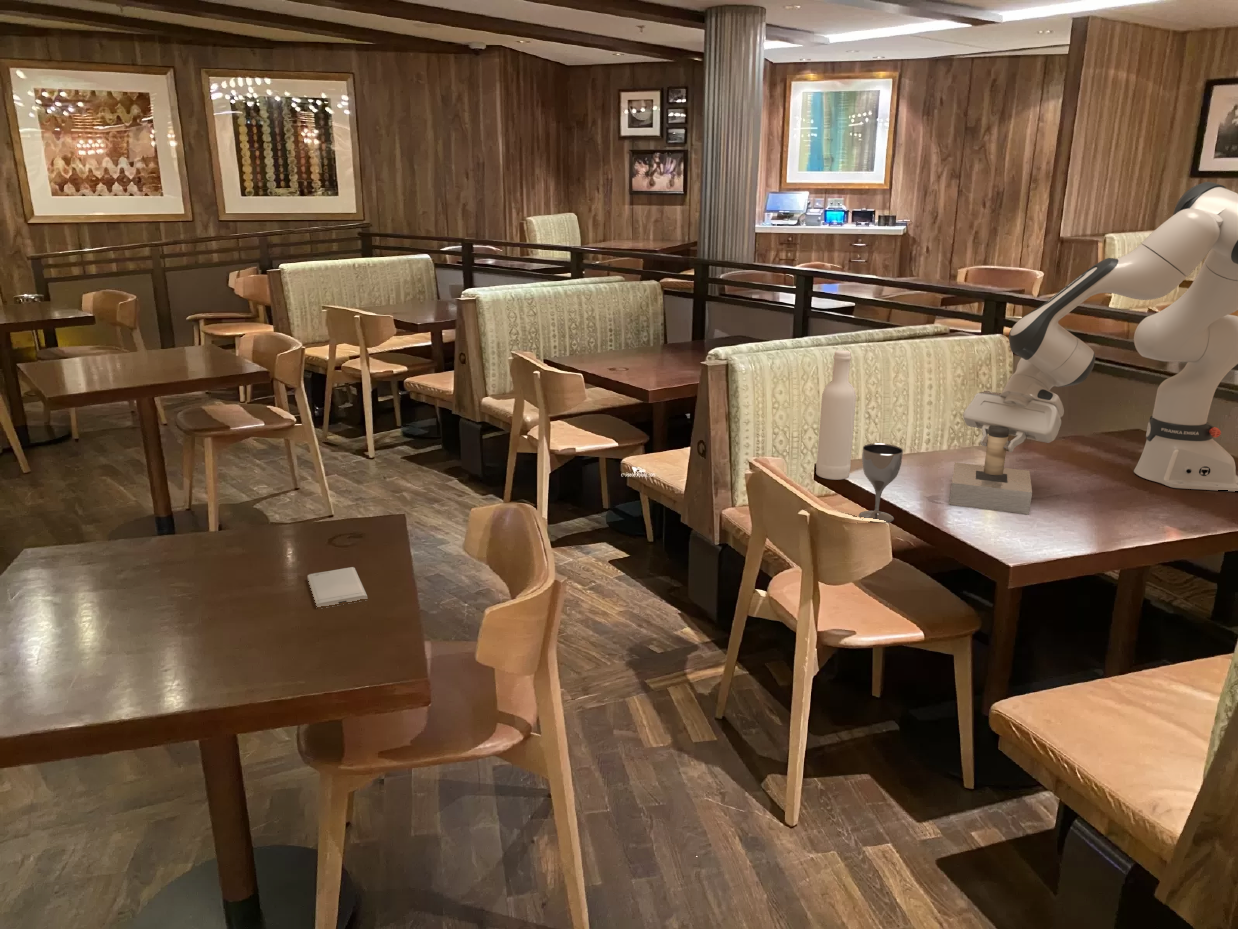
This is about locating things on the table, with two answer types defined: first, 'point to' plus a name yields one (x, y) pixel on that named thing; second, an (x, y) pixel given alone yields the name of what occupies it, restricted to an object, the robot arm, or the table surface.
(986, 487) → the housing
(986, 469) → the plug
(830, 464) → the bottle
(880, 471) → the wine glass
